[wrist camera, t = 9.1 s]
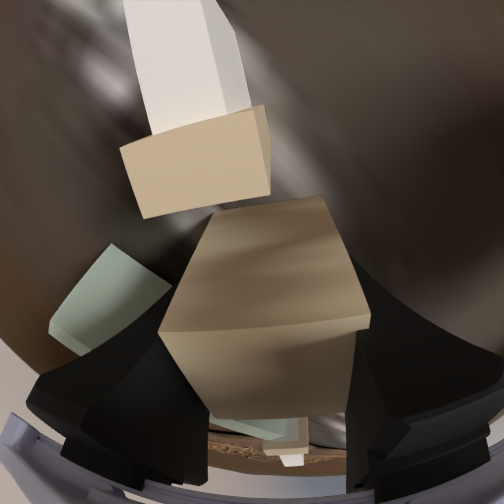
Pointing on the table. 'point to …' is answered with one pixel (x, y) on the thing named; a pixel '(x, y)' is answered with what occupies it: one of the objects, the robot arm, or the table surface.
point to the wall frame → (198, 129)
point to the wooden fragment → (254, 449)
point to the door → (125, 318)
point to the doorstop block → (268, 313)
